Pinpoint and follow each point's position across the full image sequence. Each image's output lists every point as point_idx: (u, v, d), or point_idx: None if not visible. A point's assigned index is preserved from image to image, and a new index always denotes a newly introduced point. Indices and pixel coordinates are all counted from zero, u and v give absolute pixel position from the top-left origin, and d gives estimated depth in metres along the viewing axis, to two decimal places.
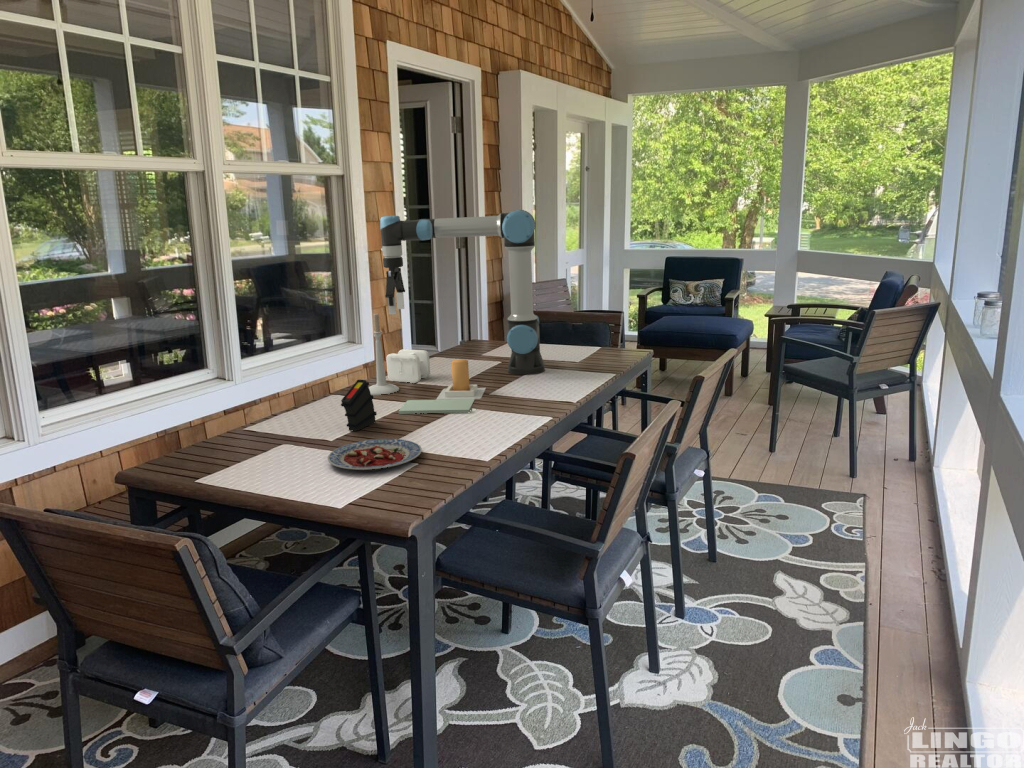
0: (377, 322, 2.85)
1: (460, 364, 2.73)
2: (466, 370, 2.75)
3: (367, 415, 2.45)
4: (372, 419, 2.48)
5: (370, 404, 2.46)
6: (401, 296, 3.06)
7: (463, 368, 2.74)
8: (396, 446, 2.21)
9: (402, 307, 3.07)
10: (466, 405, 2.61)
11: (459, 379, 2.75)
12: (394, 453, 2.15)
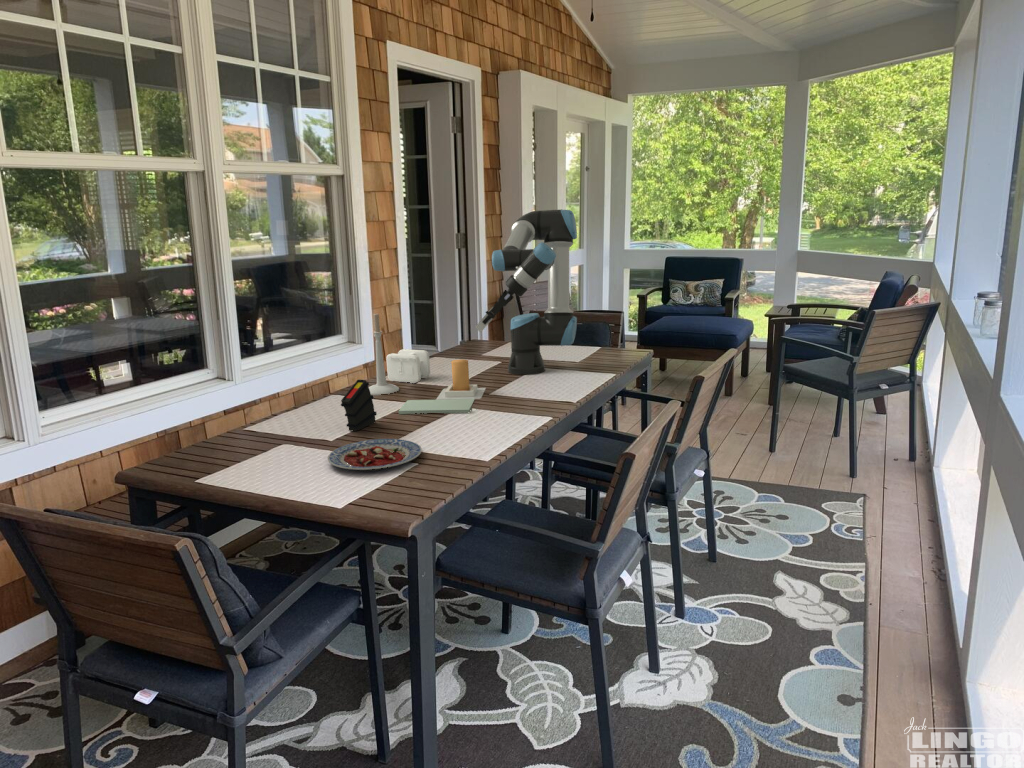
0: (377, 322, 2.85)
1: (460, 364, 2.73)
2: (466, 370, 2.75)
3: (367, 415, 2.45)
4: (372, 419, 2.48)
5: (370, 404, 2.46)
6: None
7: (463, 368, 2.74)
8: (396, 446, 2.21)
9: None
10: (466, 405, 2.61)
11: (459, 379, 2.75)
12: (394, 453, 2.15)
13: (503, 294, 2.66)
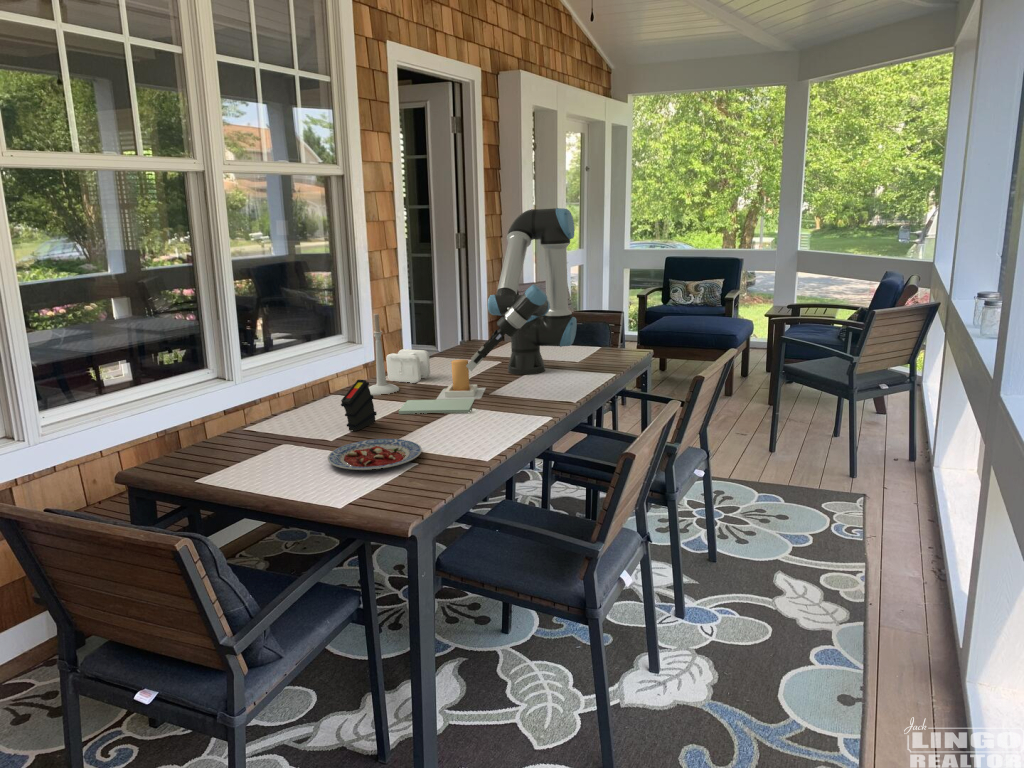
0: (377, 322, 2.85)
1: (460, 364, 2.73)
2: (466, 370, 2.75)
3: (367, 415, 2.45)
4: (372, 419, 2.48)
5: (370, 404, 2.46)
6: None
7: (463, 368, 2.74)
8: (396, 446, 2.21)
9: None
10: (466, 405, 2.61)
11: (459, 379, 2.75)
12: (394, 453, 2.15)
13: (494, 334, 2.70)
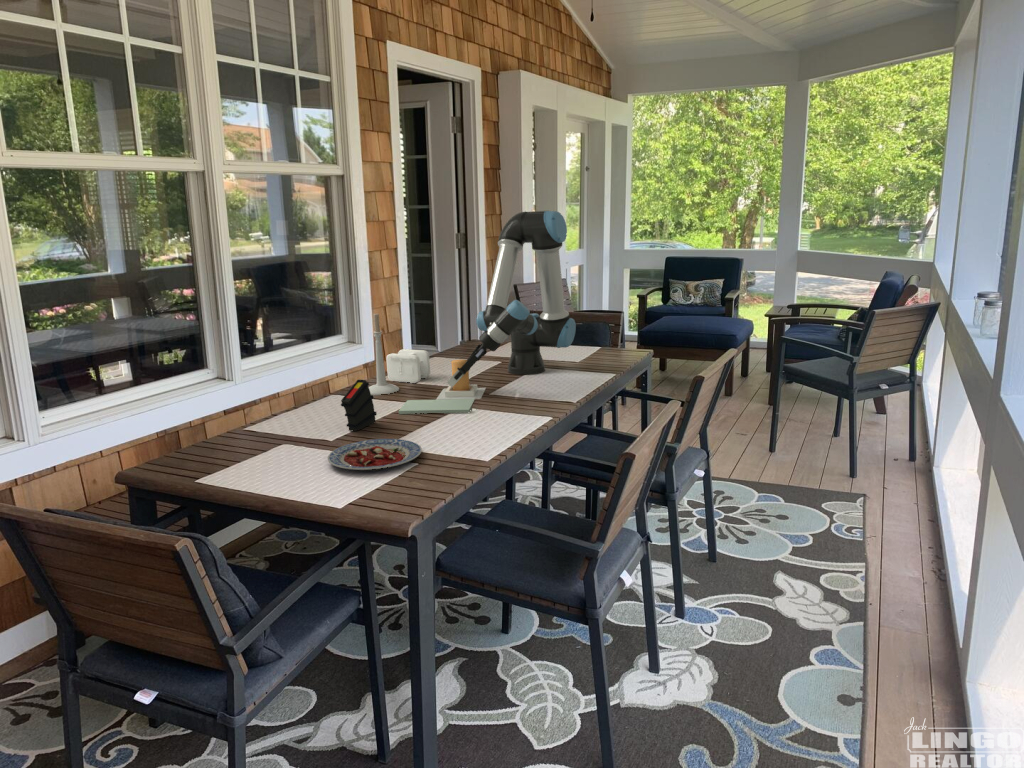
0: (377, 322, 2.85)
1: (460, 364, 2.73)
2: None
3: (367, 415, 2.45)
4: (372, 419, 2.48)
5: (370, 404, 2.46)
6: None
7: None
8: (396, 446, 2.21)
9: None
10: (466, 405, 2.61)
11: None
12: (394, 453, 2.15)
13: (476, 350, 2.72)
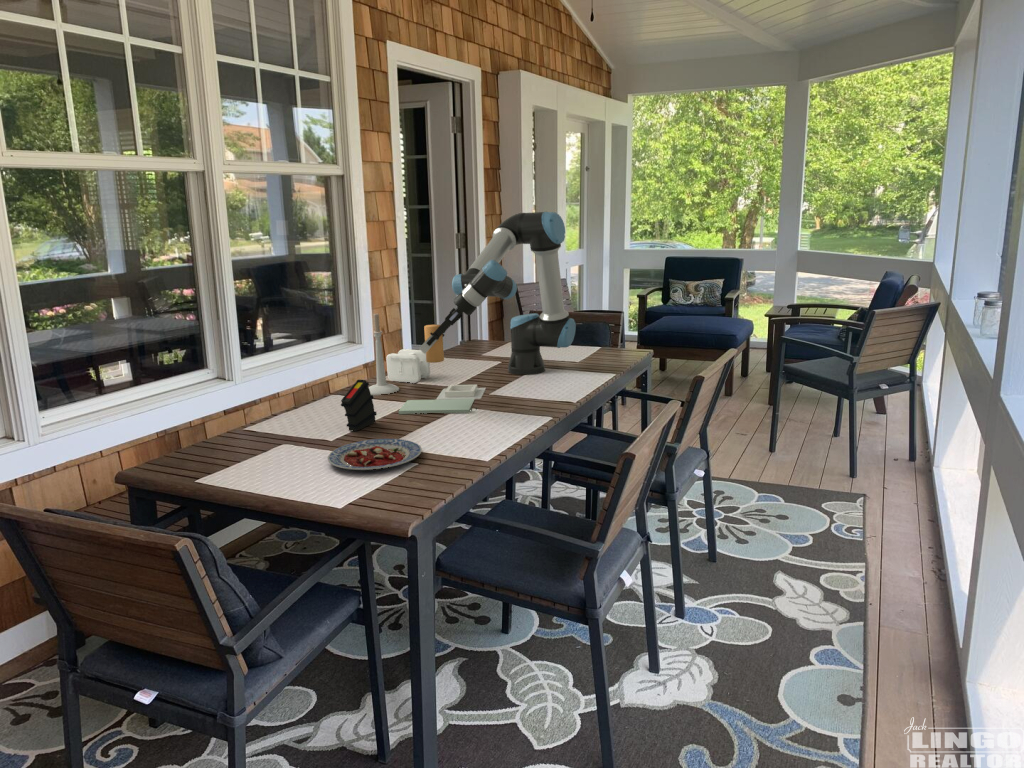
0: (377, 322, 2.85)
1: (433, 329, 2.56)
2: None
3: (367, 415, 2.45)
4: (372, 419, 2.48)
5: (370, 404, 2.46)
6: None
7: None
8: (396, 446, 2.21)
9: None
10: (466, 405, 2.61)
11: None
12: (394, 453, 2.15)
13: (450, 313, 2.55)
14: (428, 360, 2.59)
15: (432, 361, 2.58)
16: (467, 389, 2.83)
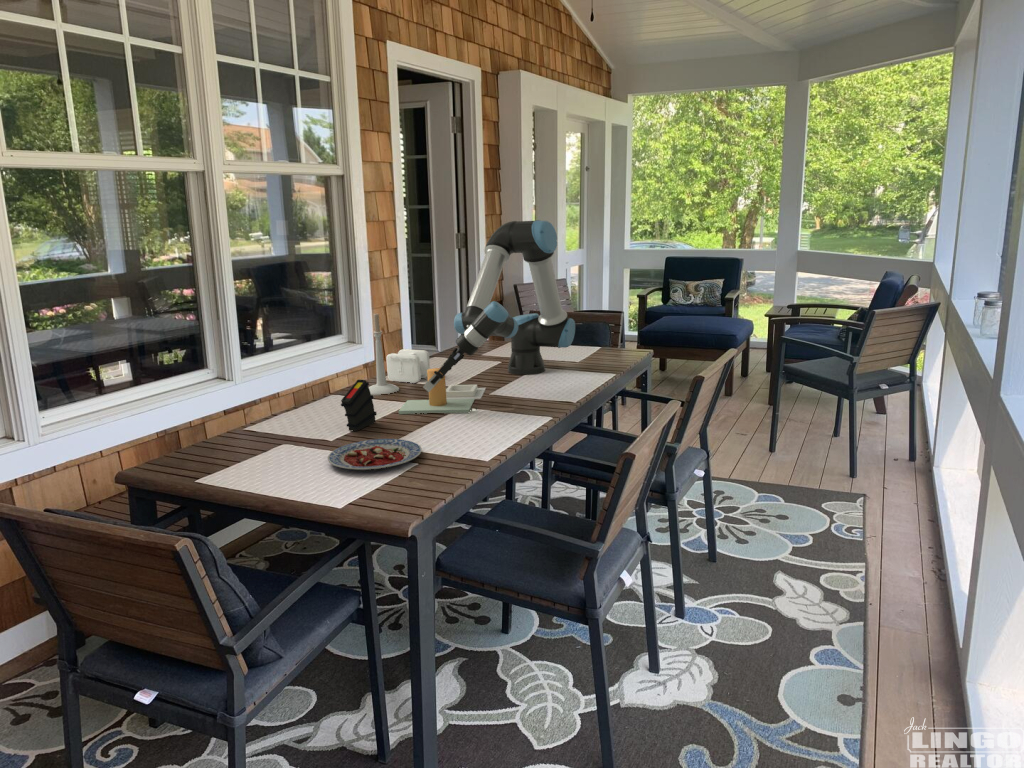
0: (377, 322, 2.85)
1: None
2: (442, 379, 2.61)
3: (367, 415, 2.45)
4: (372, 419, 2.48)
5: (370, 404, 2.46)
6: None
7: None
8: (396, 446, 2.21)
9: None
10: (466, 405, 2.61)
11: (435, 389, 2.61)
12: (394, 453, 2.15)
13: (453, 353, 2.58)
14: (431, 403, 2.63)
15: (435, 405, 2.62)
16: (467, 389, 2.83)
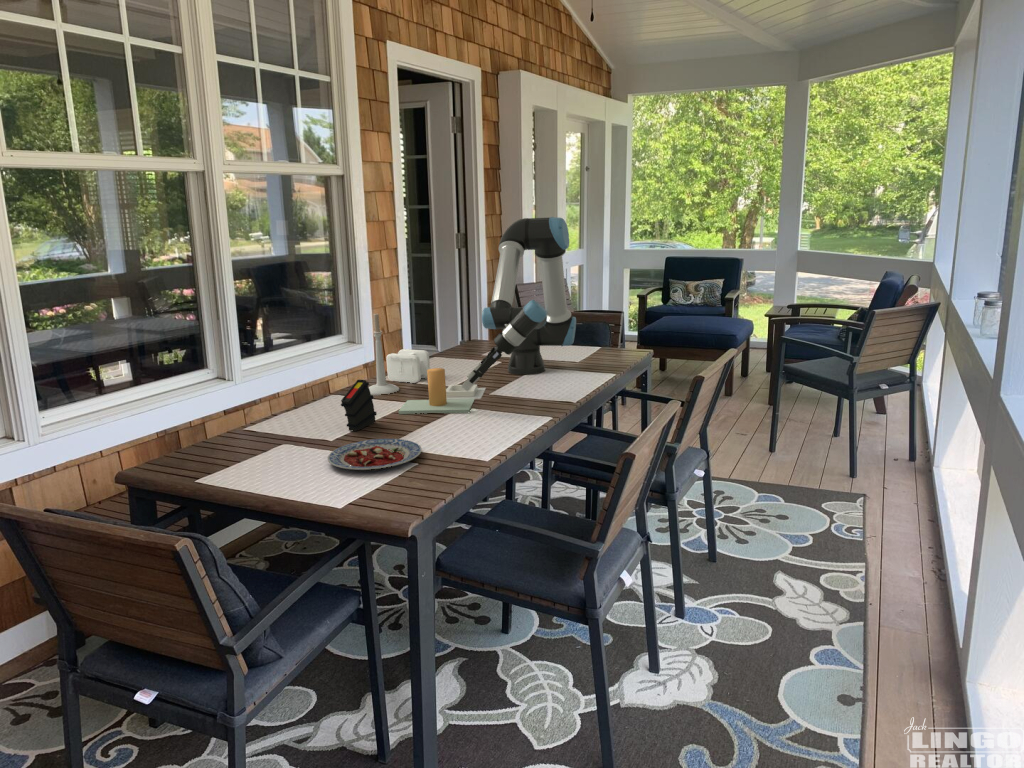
0: (377, 322, 2.85)
1: (436, 373, 2.59)
2: (442, 379, 2.61)
3: (367, 415, 2.45)
4: (372, 419, 2.48)
5: (370, 404, 2.46)
6: None
7: (440, 377, 2.60)
8: (396, 446, 2.21)
9: None
10: (466, 405, 2.61)
11: (435, 389, 2.61)
12: (394, 453, 2.15)
13: (491, 352, 2.57)
14: (431, 403, 2.63)
15: (435, 405, 2.62)
16: None
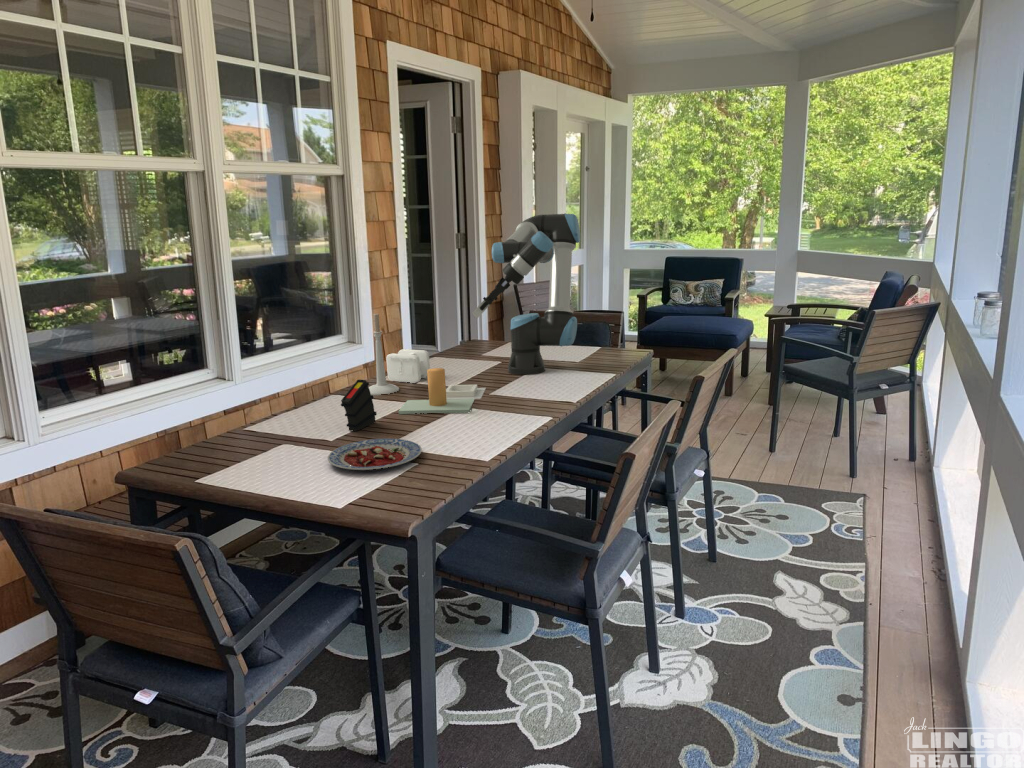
0: (377, 322, 2.85)
1: (436, 373, 2.59)
2: (442, 379, 2.61)
3: (367, 415, 2.45)
4: (372, 419, 2.48)
5: (370, 404, 2.46)
6: None
7: (440, 377, 2.60)
8: (396, 446, 2.21)
9: None
10: (466, 405, 2.61)
11: (435, 389, 2.61)
12: (394, 453, 2.15)
13: (500, 281, 2.70)
14: (431, 403, 2.63)
15: (435, 405, 2.62)
16: (467, 389, 2.83)
